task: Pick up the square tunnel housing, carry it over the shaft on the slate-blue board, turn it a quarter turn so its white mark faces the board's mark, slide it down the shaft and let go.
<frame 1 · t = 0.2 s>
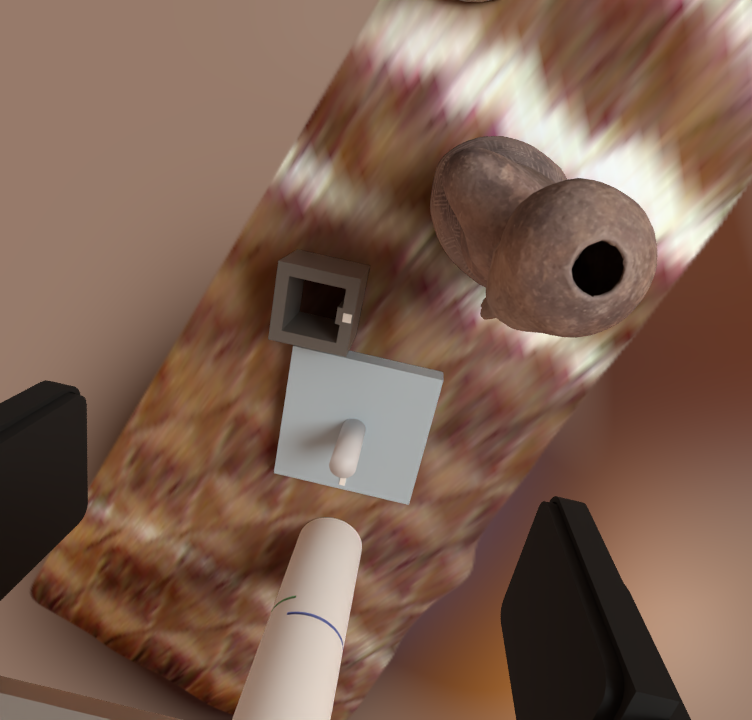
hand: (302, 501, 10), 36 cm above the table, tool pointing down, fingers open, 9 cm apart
clay figurine: (499, 212, 42), on the table
cylindrical container: (330, 542, 56), on the table
square tunnel housing: (327, 293, 46), on the table
shaft base: (356, 419, 50), on the table
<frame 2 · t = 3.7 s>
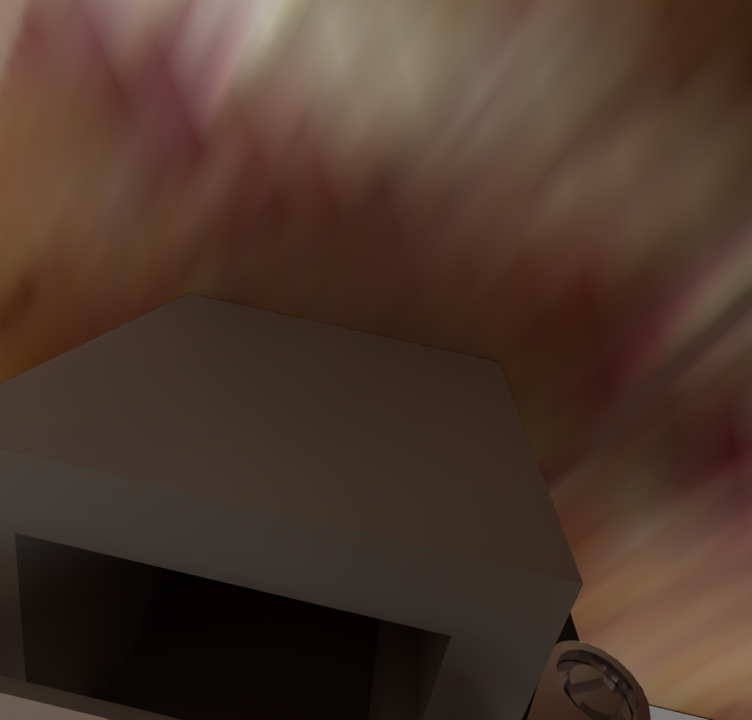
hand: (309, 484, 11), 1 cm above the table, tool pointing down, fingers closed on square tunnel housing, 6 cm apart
square tunnel housing: (318, 461, 12), on the table, touching gripper
when the fingers open (4 cm above the table, at t = 10.3 s): square tunnel housing drops 1 cm, resting on shaft base.
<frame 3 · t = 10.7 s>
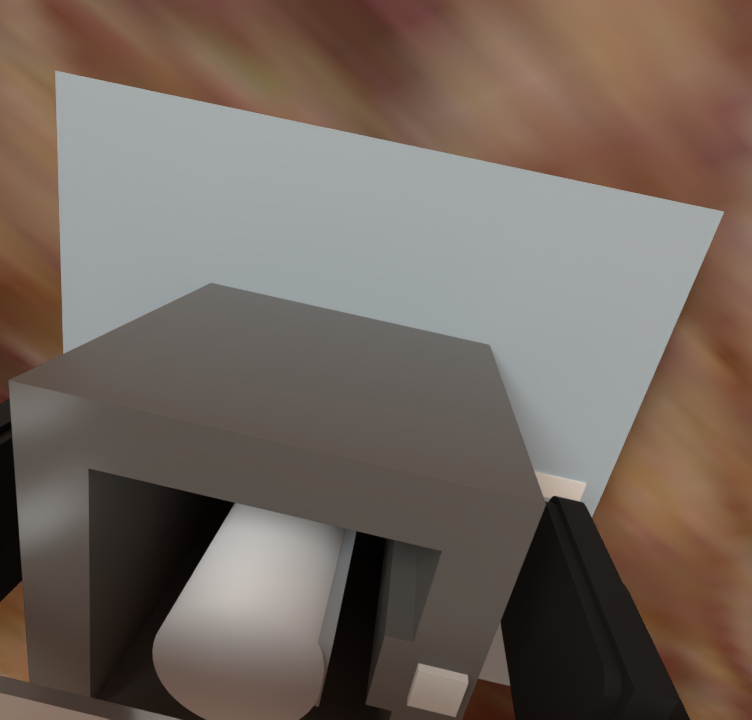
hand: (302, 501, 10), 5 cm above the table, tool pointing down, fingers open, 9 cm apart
square tunnel housing: (326, 436, 13), point 2 cm above the table, touching shaft base
shaft base: (341, 402, 15), on the table
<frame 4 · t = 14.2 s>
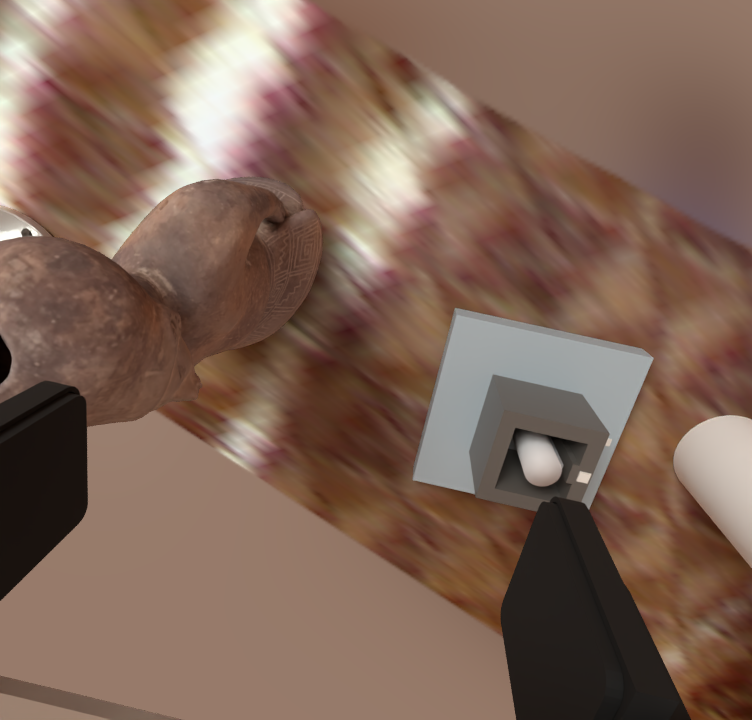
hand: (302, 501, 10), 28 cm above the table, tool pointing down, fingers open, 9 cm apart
clay figurine: (261, 250, 37), on the table
cylindrical container: (720, 455, 39), on the table
square tunnel housing: (523, 423, 38), point 2 cm above the table, touching shaft base
shaft base: (520, 411, 39), on the table
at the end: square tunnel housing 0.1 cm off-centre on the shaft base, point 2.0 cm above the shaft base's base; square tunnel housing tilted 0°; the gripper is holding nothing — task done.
